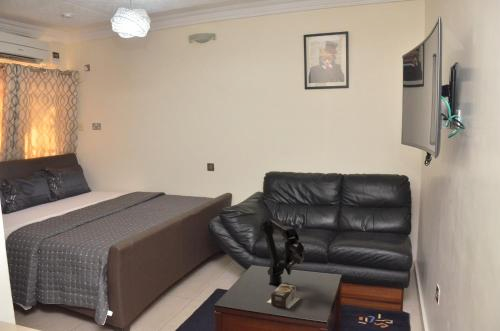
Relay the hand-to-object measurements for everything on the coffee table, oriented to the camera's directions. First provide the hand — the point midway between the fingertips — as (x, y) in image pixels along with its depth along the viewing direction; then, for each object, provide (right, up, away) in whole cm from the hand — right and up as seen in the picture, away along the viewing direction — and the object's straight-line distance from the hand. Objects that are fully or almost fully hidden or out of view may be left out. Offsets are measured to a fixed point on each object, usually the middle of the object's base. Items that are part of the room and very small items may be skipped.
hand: (289, 274), depth 233 cm
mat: (-4, -12, -10) cm, 16 cm away
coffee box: (-1, -8, -3) cm, 9 cm away
